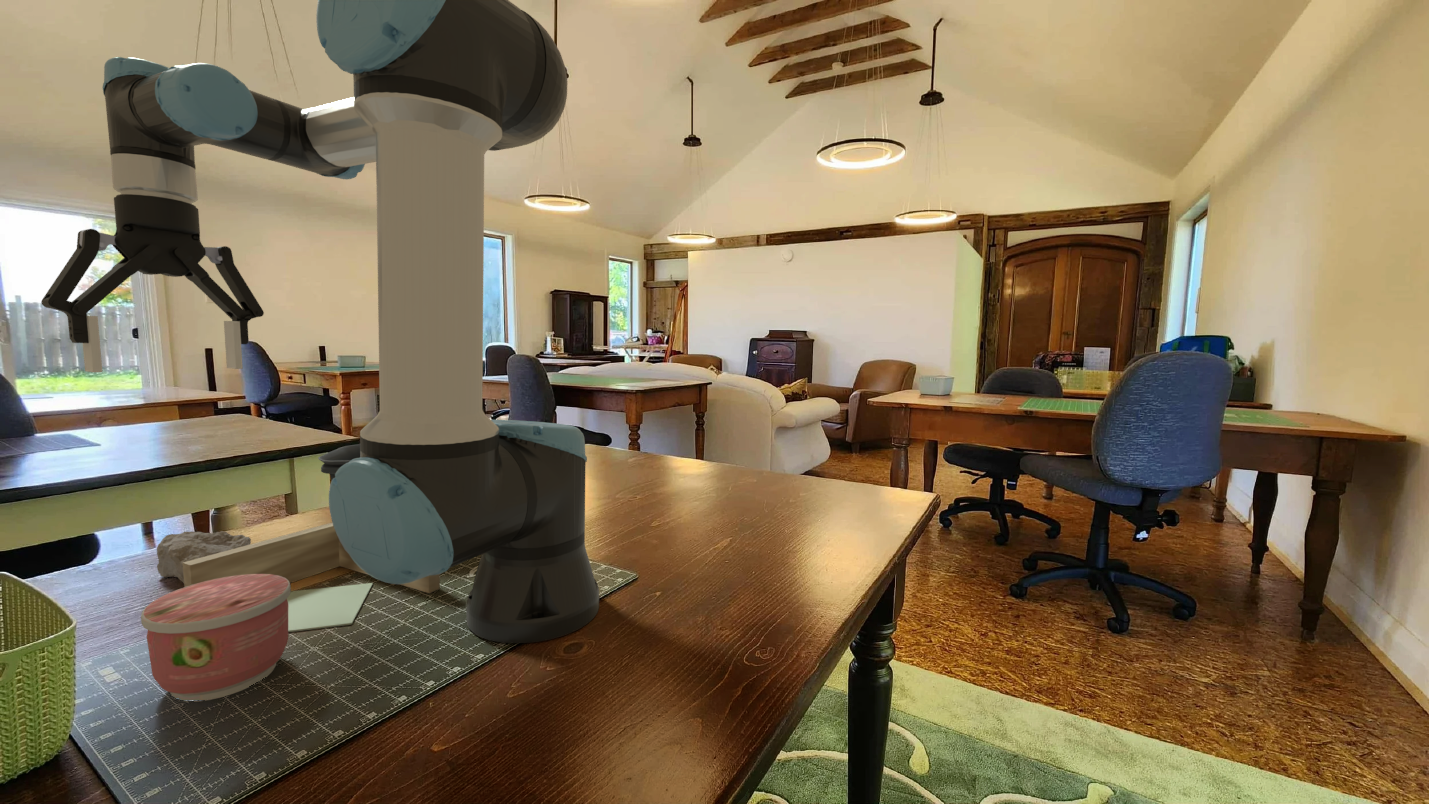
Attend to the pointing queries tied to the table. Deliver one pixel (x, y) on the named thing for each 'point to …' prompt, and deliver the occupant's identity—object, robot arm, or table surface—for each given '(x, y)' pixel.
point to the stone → (193, 549)
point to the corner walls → (286, 559)
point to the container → (217, 635)
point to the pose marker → (325, 606)
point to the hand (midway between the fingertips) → (170, 370)
